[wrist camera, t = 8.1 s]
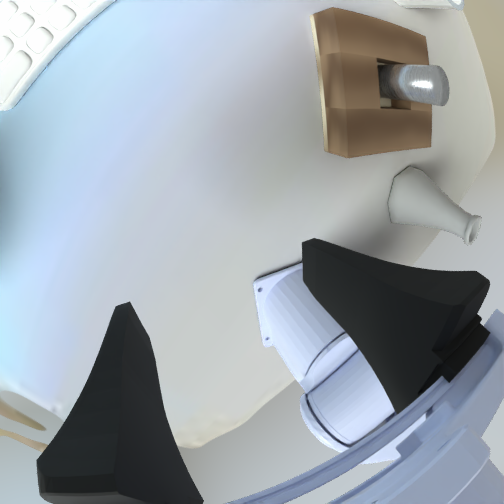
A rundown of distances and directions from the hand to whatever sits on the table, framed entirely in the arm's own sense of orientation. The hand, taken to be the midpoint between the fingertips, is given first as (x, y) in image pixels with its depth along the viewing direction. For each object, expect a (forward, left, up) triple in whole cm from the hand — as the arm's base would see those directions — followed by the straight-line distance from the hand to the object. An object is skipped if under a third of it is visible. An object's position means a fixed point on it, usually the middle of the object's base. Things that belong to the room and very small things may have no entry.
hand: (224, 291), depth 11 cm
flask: (-5, -24, -11) cm, 27 cm away
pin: (+8, -18, -10) cm, 22 cm away
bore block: (+8, -18, -10) cm, 22 cm away
